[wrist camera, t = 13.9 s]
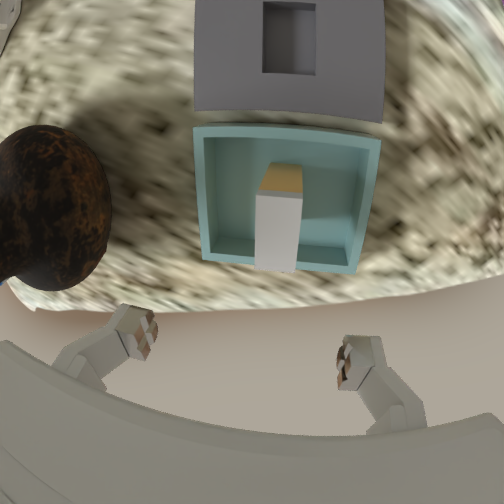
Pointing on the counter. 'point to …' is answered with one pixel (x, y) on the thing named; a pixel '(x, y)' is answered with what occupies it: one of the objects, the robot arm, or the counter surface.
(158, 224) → the counter surface
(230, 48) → the socket block
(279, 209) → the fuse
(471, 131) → the counter surface
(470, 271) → the counter surface
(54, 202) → the dark brown vase
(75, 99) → the counter surface
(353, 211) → the parts tray
